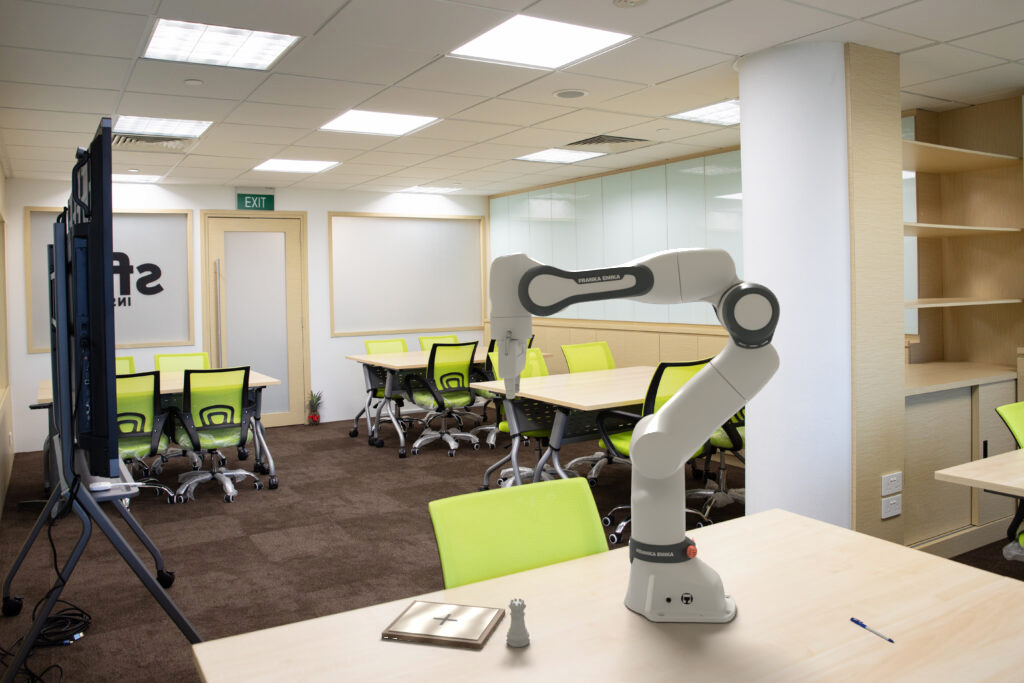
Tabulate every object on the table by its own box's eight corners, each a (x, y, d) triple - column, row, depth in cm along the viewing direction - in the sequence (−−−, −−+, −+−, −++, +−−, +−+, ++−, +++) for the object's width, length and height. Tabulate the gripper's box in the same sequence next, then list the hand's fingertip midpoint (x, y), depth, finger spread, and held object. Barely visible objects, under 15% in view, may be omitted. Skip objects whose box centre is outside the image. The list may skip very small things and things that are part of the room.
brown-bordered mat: (505, 613, 155) (505, 607, 155) (481, 648, 140) (480, 642, 140) (414, 604, 161) (414, 599, 161) (381, 637, 145) (381, 631, 145)
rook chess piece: (505, 638, 144) (504, 597, 144) (528, 636, 145) (527, 595, 144) (507, 649, 140) (506, 606, 139) (531, 647, 140) (530, 605, 140)
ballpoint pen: (848, 621, 149) (848, 616, 149) (852, 620, 149) (852, 615, 149) (891, 644, 139) (891, 638, 139) (895, 643, 139) (895, 638, 139)
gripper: (521, 332, 150) (523, 402, 151) (530, 328, 170) (531, 389, 171) (489, 333, 151) (491, 402, 151) (502, 328, 171) (504, 389, 172)
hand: (513, 395), depth 161 cm, fingers open, 8 cm apart
